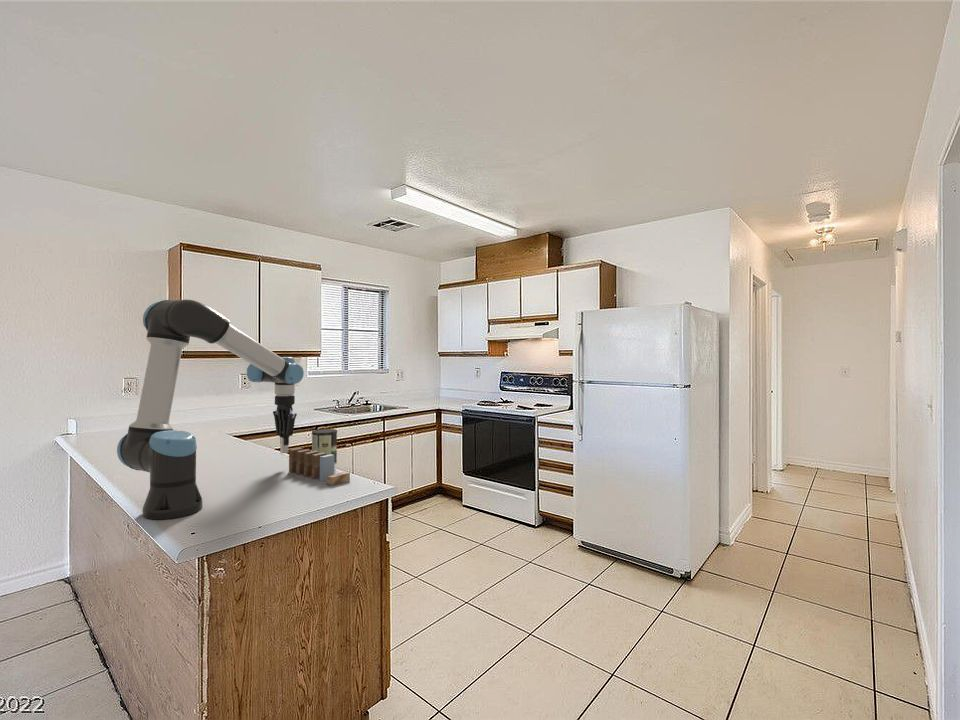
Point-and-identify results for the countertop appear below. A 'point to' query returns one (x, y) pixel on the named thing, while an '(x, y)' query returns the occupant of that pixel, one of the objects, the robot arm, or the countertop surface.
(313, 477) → the domino
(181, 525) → the countertop surface
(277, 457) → the countertop surface
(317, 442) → the coffee can
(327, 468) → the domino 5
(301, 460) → the domino
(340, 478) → the stop block
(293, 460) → the domino
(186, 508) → the robot arm
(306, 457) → the domino
